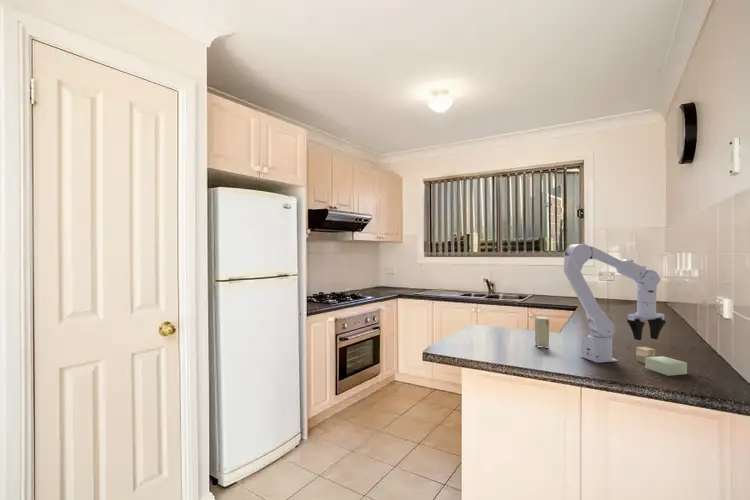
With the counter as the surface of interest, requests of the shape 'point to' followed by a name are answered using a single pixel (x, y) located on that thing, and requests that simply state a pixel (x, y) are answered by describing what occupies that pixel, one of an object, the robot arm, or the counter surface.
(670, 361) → the sage base block
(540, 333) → the skincare box
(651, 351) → the birch block
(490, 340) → the counter surface
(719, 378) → the counter surface
